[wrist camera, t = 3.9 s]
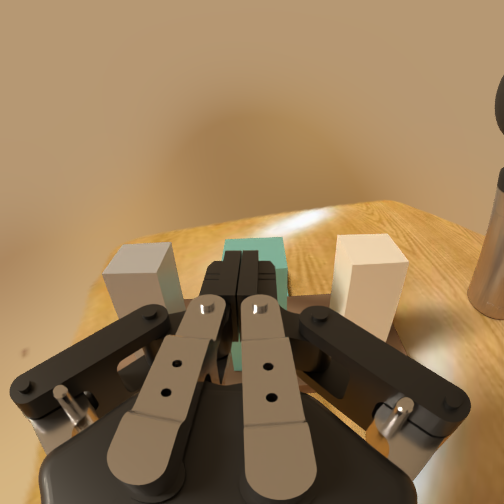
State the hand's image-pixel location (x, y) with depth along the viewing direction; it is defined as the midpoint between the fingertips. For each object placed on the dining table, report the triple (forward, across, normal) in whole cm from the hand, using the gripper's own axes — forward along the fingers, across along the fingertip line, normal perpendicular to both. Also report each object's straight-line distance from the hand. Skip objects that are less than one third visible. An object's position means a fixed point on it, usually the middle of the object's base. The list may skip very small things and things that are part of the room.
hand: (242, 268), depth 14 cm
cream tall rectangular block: (+10, -10, +16) cm, 22 cm away
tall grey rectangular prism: (+10, +10, +16) cm, 22 cm away
